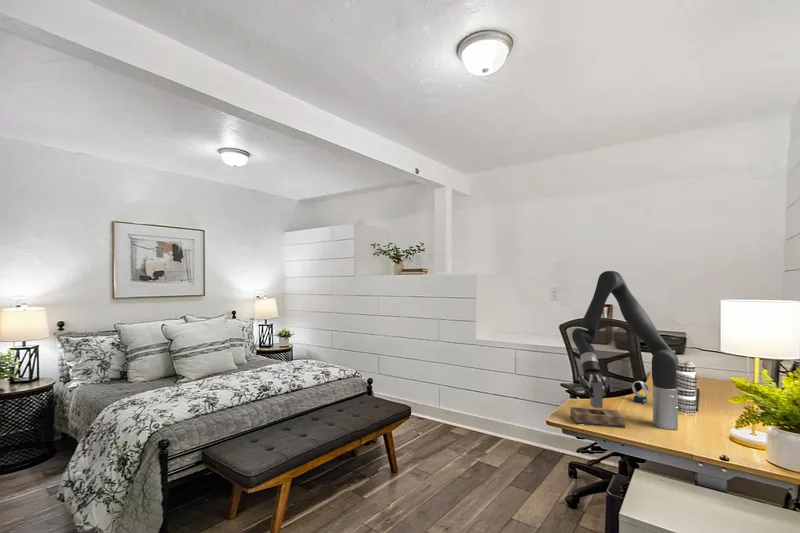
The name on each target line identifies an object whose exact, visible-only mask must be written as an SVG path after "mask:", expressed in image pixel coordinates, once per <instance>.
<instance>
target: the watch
mask: <svg viewBox="0 0 800 533" xmlns="http://www.w3.org/2000/svg"><path fill="white" fill-rule="evenodd" d="M637 383H639V384H640V386H641V388H642V390H643V391H644V392H645V395H641V394H638V391H637V389H636V387H635V385H636V384H637ZM648 385H649V384H647V383H646V382H645V381H642V380H638V381H637V380H636V381H634V382H633V383H632V385H631V390H632V393H634V395H633V403H635V402H636V404H639V403H641V404H640V405H645V404H647V403H646V402H648V395H649V394H650V387H649V386H648ZM644 403H645V404H644Z"/></svg>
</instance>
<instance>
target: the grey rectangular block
mask: <svg viewBox="0 0 800 533" xmlns="http://www.w3.org/2000/svg"><path fill="white" fill-rule="evenodd" d="M601 381H602V380H601ZM601 381H591V386H592V387H591V388H592V390H593V394H594V397H593V398H591V396H589V397H590V398H589V400H590V402H589V404H590V406H591V408H593V409H603V406H604V403H603V402H604V399H603V386H604V382H603V381H602V382H601Z"/></svg>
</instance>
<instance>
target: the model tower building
mask: <svg viewBox="0 0 800 533" xmlns="http://www.w3.org/2000/svg"><path fill="white" fill-rule="evenodd" d="M676 371H677V383H678V412H681V413H685V414H695V413H696V414H697V407H696V405H697V400H696V391H697V386H698V385H696V384H697V383H698V382H697V381H696V380H698V378H696V377H695V376H697V373H696V365H695V364H694V362H692V361H689V360H688V361H687V360H678V365H677V367H676Z"/></svg>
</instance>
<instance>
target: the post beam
mask: <svg viewBox="0 0 800 533" xmlns="http://www.w3.org/2000/svg"><path fill="white" fill-rule="evenodd" d="M570 419H572V420H574V421H573V422H574V423H575V425H578V424H584V425H583V426H591V425H593V426H594V427H605V428H606V427H607V428H620V429H625V428H626V417H625V416H624V415H623V414H621V413H620V412H619V411H618V410H617V409H603V408H592V407H591V408H588V407H574V406H573V407H572V406H570Z"/></svg>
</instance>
